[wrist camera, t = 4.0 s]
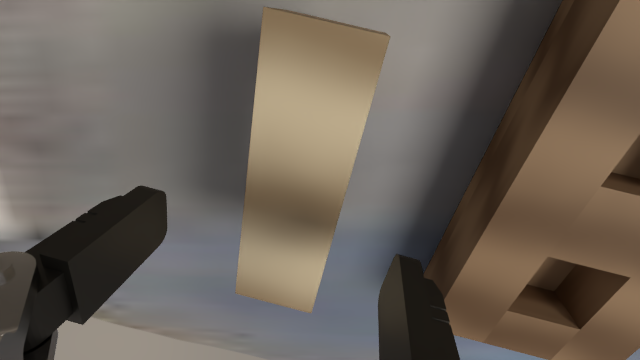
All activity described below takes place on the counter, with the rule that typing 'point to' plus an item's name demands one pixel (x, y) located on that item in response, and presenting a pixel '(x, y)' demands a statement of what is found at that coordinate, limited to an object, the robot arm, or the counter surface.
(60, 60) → the counter surface
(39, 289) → the robot arm
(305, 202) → the beige wooden plank
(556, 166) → the brown slotted wooden block
